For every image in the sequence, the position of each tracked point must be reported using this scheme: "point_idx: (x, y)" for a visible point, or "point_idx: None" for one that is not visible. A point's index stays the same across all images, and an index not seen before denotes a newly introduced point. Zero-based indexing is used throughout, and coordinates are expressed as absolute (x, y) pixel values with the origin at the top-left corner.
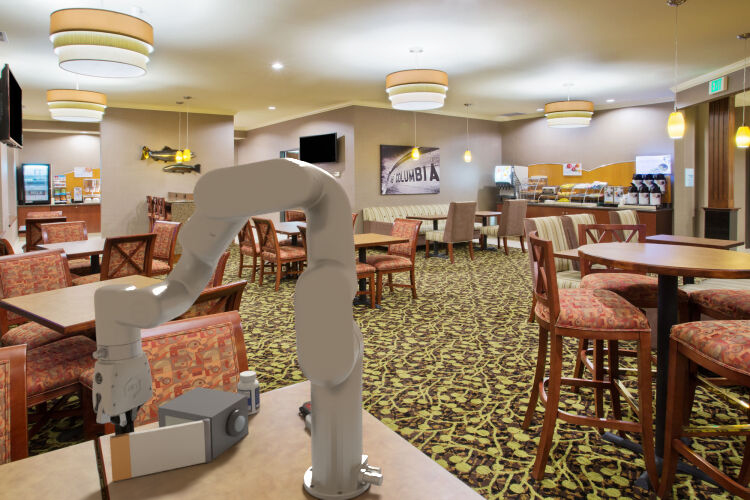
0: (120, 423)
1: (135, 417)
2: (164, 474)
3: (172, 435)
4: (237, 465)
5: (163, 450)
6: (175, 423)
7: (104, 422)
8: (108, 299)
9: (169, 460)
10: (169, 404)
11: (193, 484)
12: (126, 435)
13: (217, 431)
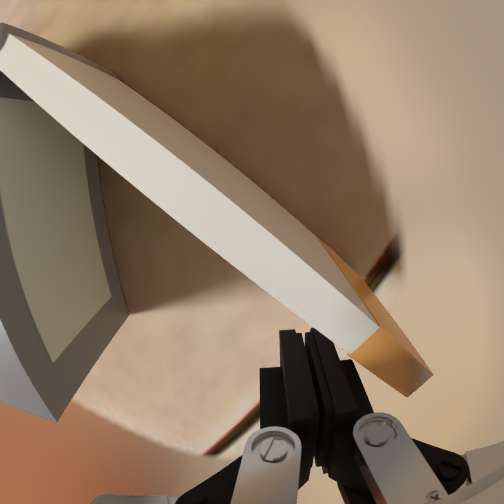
0: (404, 433)
1: (253, 446)
2: (238, 148)
3: (148, 122)
4: (98, 3)
5: (214, 161)
6: (46, 287)
7: (499, 446)
8: None
9: (204, 146)
10: (12, 389)
11: (239, 14)
12: (387, 338)
13: None
